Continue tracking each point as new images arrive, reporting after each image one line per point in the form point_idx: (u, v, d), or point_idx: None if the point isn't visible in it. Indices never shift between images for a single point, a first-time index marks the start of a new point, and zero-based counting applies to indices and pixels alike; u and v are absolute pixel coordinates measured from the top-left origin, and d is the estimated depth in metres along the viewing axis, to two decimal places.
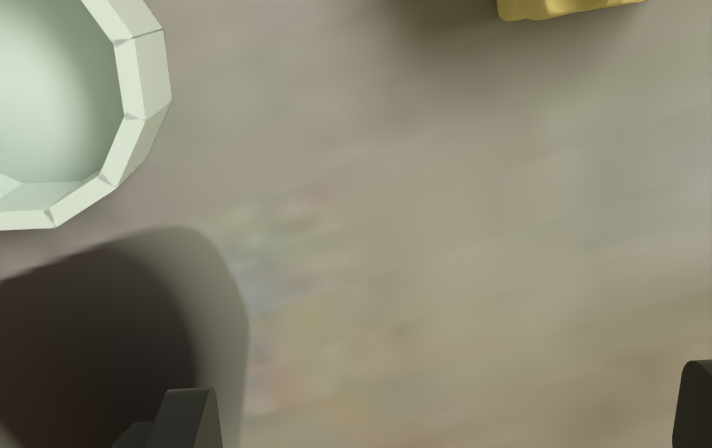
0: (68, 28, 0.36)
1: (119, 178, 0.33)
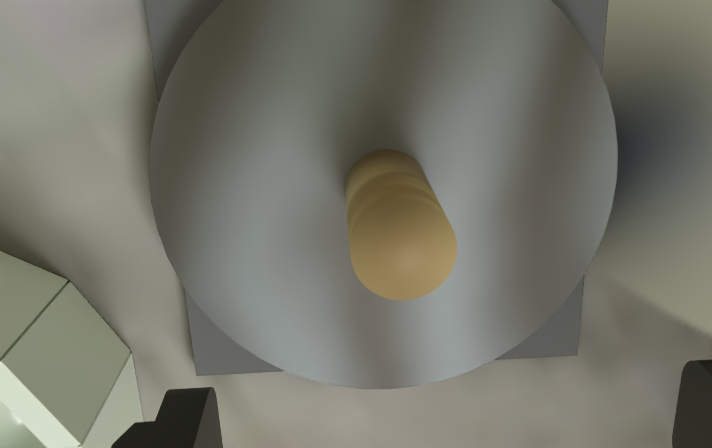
0: None
1: None
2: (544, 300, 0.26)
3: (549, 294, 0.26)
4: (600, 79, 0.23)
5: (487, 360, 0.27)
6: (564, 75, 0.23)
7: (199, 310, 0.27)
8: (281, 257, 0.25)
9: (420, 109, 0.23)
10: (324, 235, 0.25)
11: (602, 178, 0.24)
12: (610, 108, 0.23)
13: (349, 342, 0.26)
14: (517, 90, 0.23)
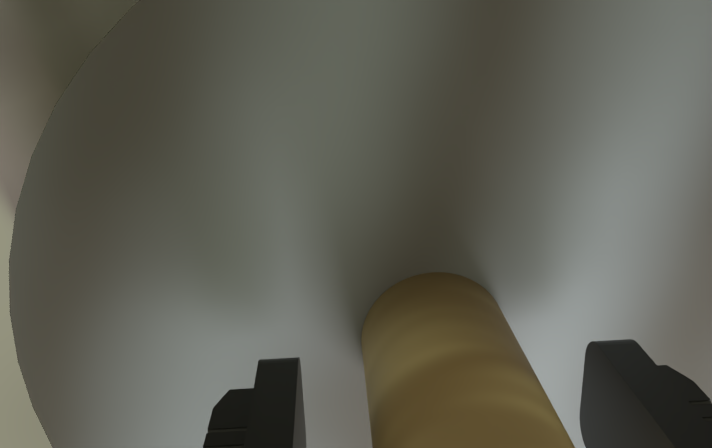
0: None
1: None
2: None
3: None
4: None
5: None
6: None
7: None
8: None
9: (498, 204, 0.13)
10: (325, 412, 0.14)
11: None
12: None
13: None
14: (675, 170, 0.13)
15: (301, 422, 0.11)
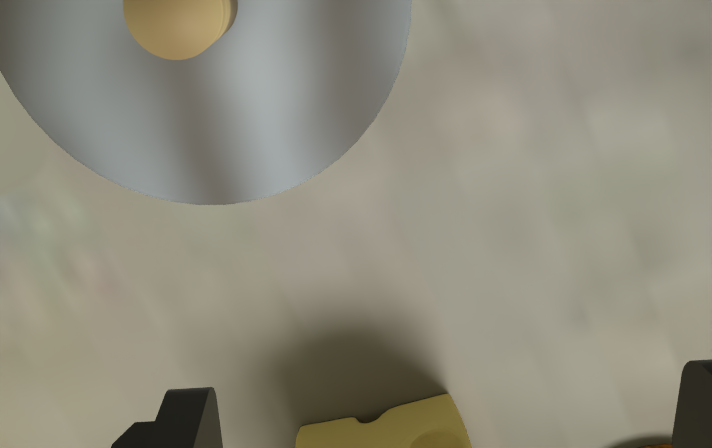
0: None
1: None
2: (358, 114, 0.28)
3: (362, 107, 0.28)
4: None
5: (312, 175, 0.29)
6: None
7: None
8: (108, 71, 0.27)
9: None
10: None
11: None
12: None
13: (181, 157, 0.28)
14: None
15: None
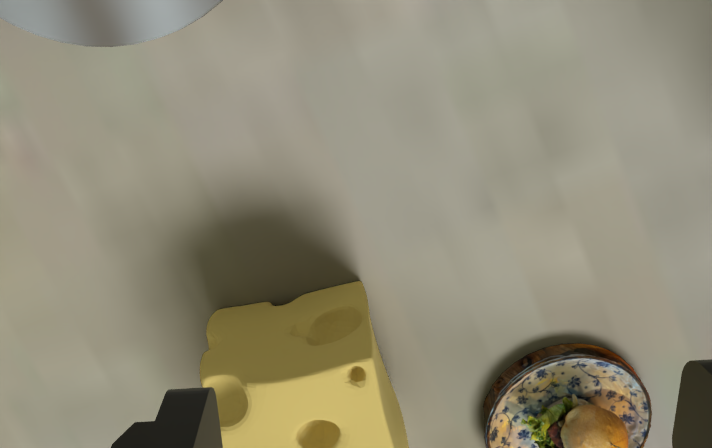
0: None
1: None
2: None
3: None
4: None
5: (192, 19, 0.31)
6: None
7: None
8: None
9: None
10: None
11: None
12: None
13: None
14: None
15: None
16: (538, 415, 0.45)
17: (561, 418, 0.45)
